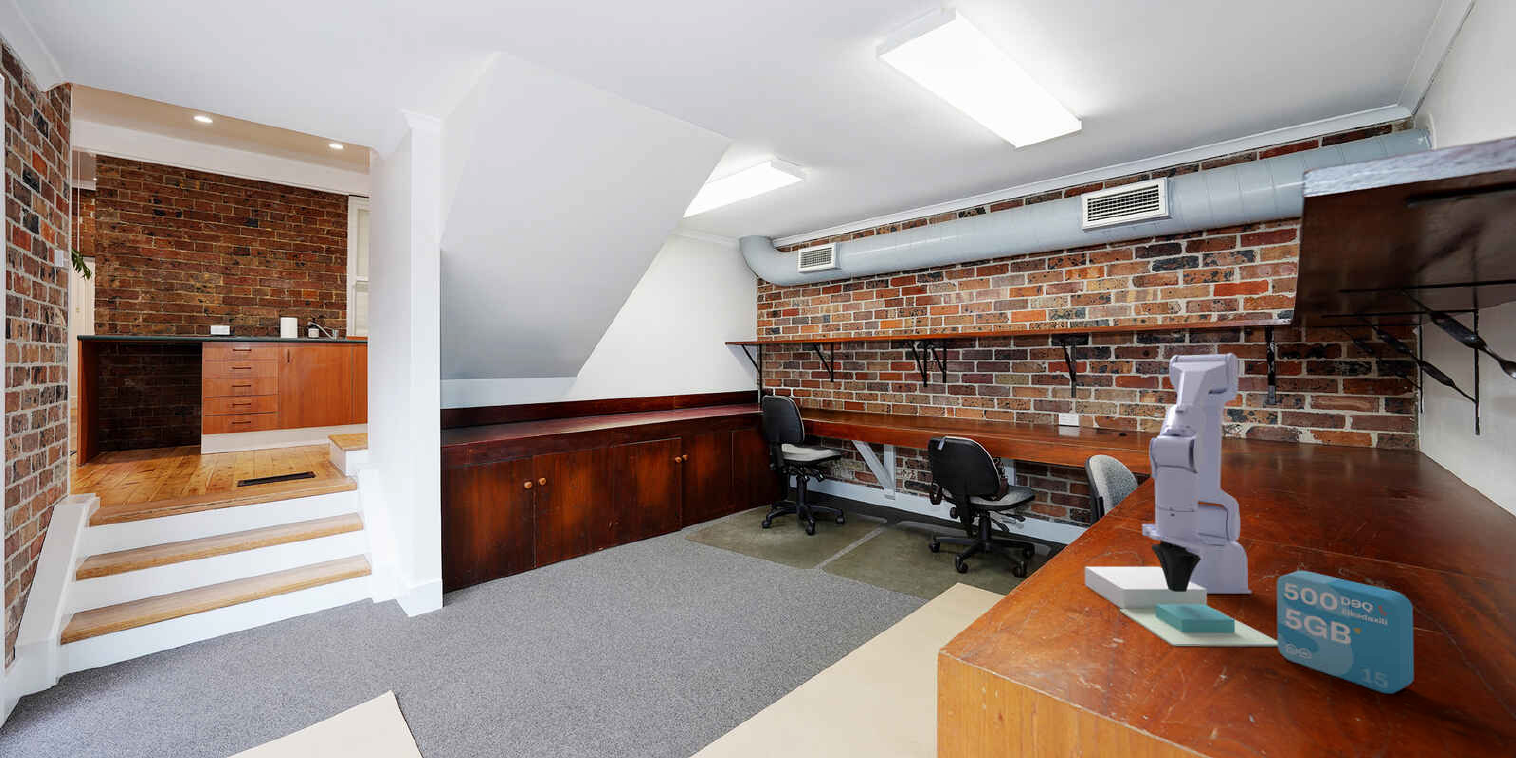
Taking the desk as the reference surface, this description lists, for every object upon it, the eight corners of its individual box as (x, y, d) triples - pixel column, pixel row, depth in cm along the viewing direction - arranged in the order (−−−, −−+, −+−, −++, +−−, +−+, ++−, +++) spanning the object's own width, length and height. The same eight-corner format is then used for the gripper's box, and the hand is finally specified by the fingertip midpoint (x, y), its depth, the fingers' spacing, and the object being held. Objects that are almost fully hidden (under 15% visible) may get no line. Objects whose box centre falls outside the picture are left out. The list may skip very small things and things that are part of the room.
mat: (1215, 611, 97) (1215, 609, 97) (1283, 646, 84) (1283, 644, 84) (1119, 610, 97) (1119, 609, 97) (1173, 646, 84) (1173, 644, 84)
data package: (1277, 657, 81) (1275, 572, 81) (1293, 650, 83) (1291, 567, 83) (1399, 699, 70) (1398, 601, 70) (1414, 690, 72) (1413, 594, 72)
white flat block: (1159, 585, 109) (1158, 566, 109) (1206, 609, 97) (1206, 589, 97) (1085, 584, 110) (1084, 566, 110) (1123, 609, 98) (1123, 589, 98)
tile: (1234, 619, 88) (1234, 632, 88) (1205, 604, 94) (1205, 616, 94) (1181, 619, 88) (1181, 632, 88) (1155, 604, 94) (1155, 616, 94)
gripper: (1124, 499, 102) (1125, 575, 102) (1183, 518, 87) (1184, 607, 87) (1164, 499, 102) (1165, 575, 102) (1230, 518, 87) (1231, 607, 87)
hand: (1177, 590), depth 95 cm, fingers closed
